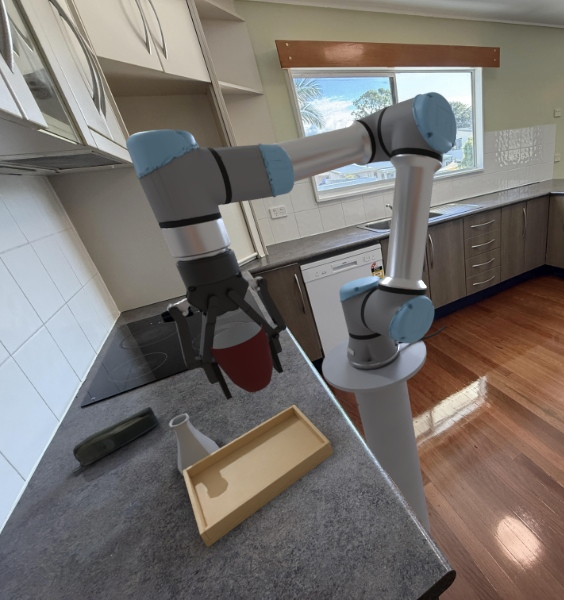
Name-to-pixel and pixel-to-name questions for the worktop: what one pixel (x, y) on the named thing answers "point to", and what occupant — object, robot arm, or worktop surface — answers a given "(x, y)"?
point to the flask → (190, 442)
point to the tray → (252, 471)
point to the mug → (244, 355)
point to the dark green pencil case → (114, 437)
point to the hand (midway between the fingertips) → (254, 381)
